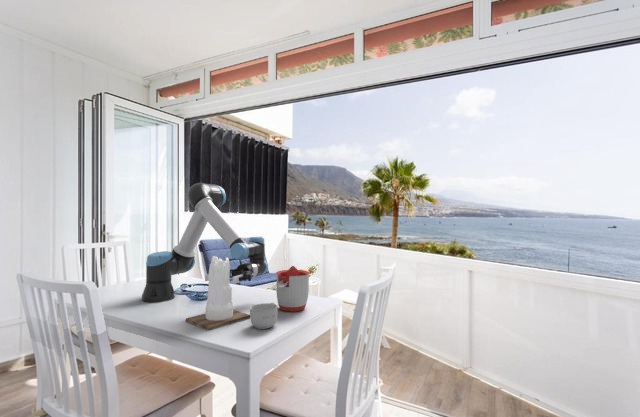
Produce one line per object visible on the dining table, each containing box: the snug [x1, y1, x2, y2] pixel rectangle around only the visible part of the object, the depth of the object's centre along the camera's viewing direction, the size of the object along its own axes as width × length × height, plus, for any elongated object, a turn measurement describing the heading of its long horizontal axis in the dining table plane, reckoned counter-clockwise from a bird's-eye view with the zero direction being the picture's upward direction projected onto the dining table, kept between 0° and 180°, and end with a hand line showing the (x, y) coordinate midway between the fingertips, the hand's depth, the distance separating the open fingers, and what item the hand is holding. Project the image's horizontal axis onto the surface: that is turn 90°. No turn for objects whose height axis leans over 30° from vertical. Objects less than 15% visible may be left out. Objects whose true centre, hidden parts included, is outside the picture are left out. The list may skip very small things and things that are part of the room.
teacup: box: [249, 302, 279, 330], centre depth 131 cm, size 14×11×8 cm
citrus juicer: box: [275, 265, 310, 313], centre depth 154 cm, size 16×17×20 cm
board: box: [185, 309, 250, 331], centre depth 137 cm, size 16×20×1 cm
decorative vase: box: [205, 255, 234, 321], centre depth 137 cm, size 11×11×25 cm
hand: (219, 279), depth 137 cm, fingers open, 13 cm apart
